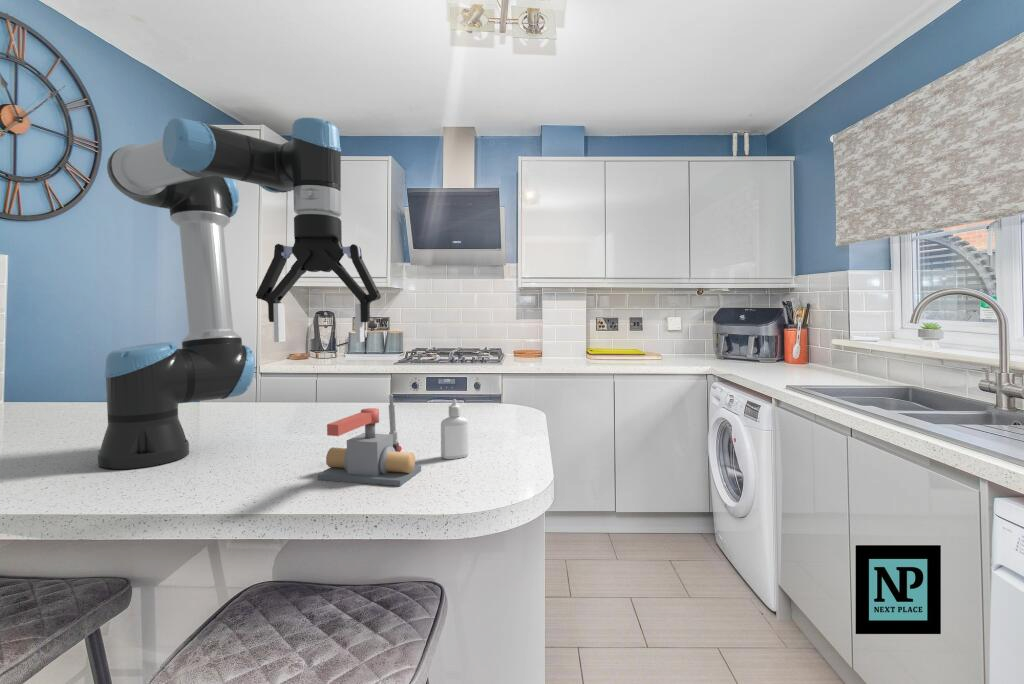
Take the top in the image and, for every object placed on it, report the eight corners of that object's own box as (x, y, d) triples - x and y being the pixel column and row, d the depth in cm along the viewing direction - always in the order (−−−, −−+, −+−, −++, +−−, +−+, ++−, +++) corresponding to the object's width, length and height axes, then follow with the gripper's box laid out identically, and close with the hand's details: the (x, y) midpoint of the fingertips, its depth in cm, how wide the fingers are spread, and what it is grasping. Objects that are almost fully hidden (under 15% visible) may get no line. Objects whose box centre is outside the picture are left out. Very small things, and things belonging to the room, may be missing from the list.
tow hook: (347, 463, 103) (392, 461, 103) (343, 399, 103) (388, 398, 102) (361, 452, 112) (403, 451, 111) (358, 393, 111) (400, 392, 111)
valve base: (317, 479, 91) (316, 427, 91) (345, 465, 100) (344, 417, 100) (400, 486, 88) (399, 431, 87) (421, 470, 97) (420, 421, 96)
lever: (366, 420, 95) (366, 407, 95) (382, 421, 95) (382, 408, 95) (323, 437, 82) (323, 422, 82) (341, 438, 81) (341, 423, 81)
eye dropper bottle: (466, 460, 104) (466, 401, 103) (439, 459, 104) (438, 401, 103) (469, 454, 108) (469, 398, 108) (443, 453, 108) (443, 397, 108)
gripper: (231, 211, 82) (235, 342, 83) (387, 212, 83) (388, 343, 84) (254, 219, 90) (256, 340, 91) (396, 220, 90) (397, 340, 91)
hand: (320, 342), depth 87 cm, fingers open, 13 cm apart
